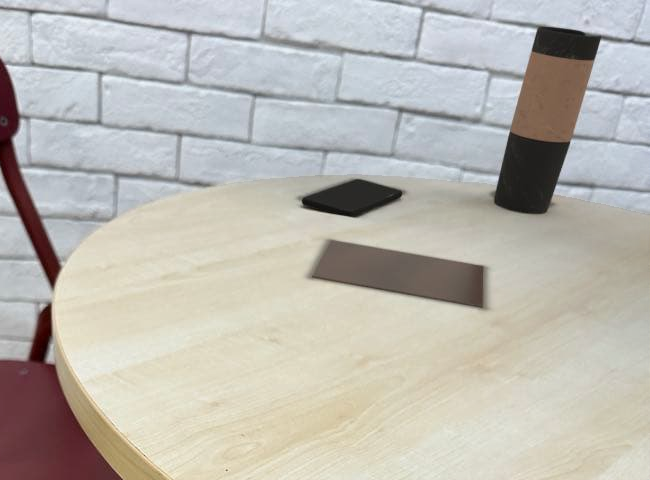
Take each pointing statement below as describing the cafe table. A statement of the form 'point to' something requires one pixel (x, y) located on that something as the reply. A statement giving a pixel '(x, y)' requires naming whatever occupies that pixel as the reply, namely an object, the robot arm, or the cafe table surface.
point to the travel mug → (545, 118)
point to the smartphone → (352, 198)
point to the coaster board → (402, 273)
